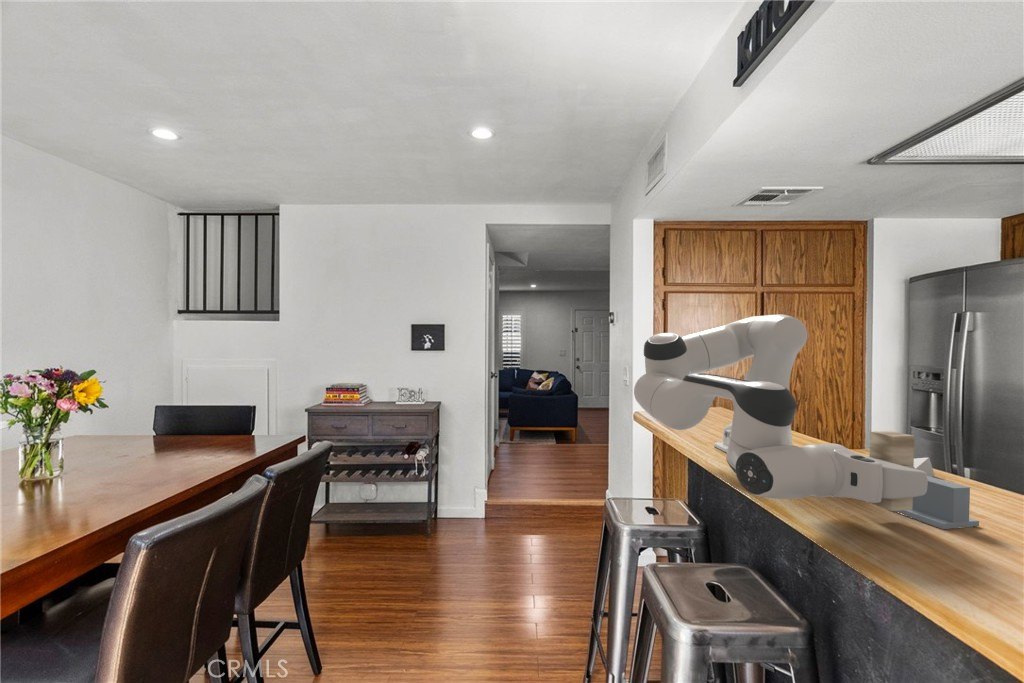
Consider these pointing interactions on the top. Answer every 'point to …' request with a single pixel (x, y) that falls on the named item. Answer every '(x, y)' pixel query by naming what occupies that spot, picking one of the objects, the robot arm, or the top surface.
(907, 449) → the ash post
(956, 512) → the ridge block
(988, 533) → the top surface
